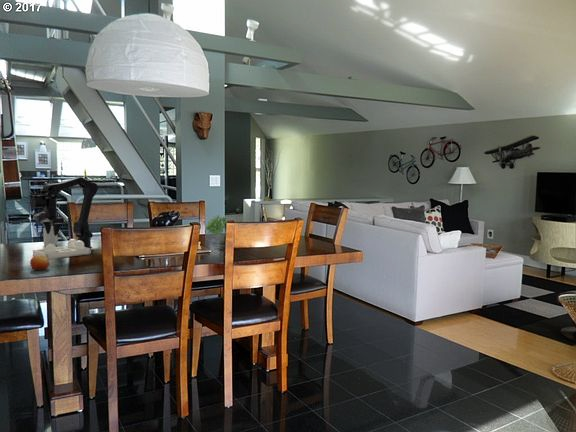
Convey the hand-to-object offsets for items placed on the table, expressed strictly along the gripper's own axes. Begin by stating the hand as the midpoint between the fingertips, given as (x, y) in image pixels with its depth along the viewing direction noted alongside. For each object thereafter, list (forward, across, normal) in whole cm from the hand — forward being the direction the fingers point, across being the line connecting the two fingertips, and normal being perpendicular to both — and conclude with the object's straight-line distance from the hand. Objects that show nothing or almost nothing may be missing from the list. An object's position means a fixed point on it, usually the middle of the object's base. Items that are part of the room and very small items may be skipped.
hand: (51, 234), depth 255 cm
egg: (+9, +14, -7) cm, 18 cm away
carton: (+10, +10, +1) cm, 14 cm away
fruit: (+10, +40, -23) cm, 47 cm away
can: (+10, -25, +10) cm, 29 cm away
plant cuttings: (+10, +40, +90) cm, 99 cm away
